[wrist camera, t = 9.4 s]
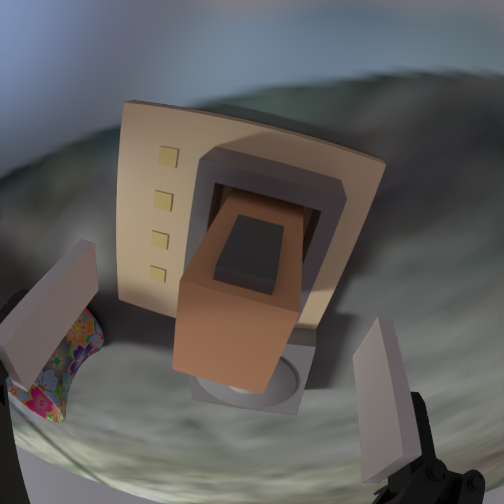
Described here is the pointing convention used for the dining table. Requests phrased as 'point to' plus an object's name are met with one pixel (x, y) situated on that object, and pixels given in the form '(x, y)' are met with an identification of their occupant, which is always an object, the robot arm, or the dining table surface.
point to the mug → (61, 369)
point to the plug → (241, 292)
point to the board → (217, 191)
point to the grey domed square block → (279, 386)
